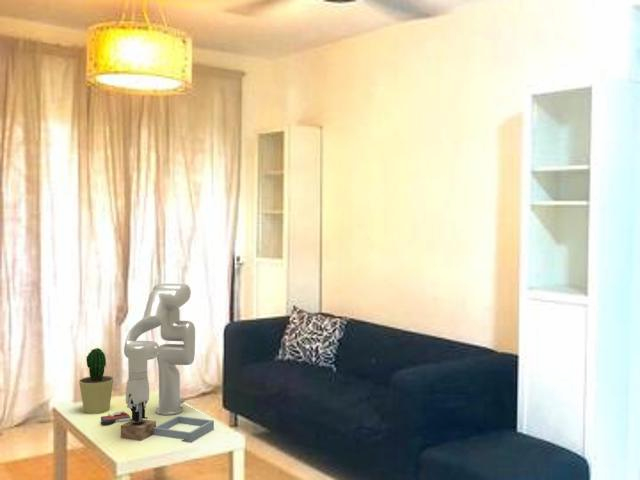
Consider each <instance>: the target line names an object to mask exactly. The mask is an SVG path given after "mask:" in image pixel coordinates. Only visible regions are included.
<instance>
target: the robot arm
mask: <svg viewBox="0 0 640 480" xmlns="http://www.w3.org/2000/svg"><path fill="white" fill-rule="evenodd" d="M152 288H153V289H152V291H151V292H150V293H149V296H148V300H147V303H146V307H145V311H144V313H143V317H142V319H140V320H139V321H138V322H136V324H134V325H133V326H132V327H131V329H130V330H129V331H128V333H127V336H126V339H125V342H124V346H123V354H124V355H125V357H126V358H127V361H128V362H127V364H128V365H127V366H128V370H127V371H128V375H127V376H128V379H127V382H126V387H125V388H126V389H125V404H126V408H128V409H130V411H131V419H132V421H139V411H138V404H139V403H141V400H143V399H144V402H142V419H143V420H145V419H144V418H145V417H146V409H147V404H148V402H149V401H150V383H149V378H148V377H149V376H148V360H154V359H155V358H156V361H157V367H158V368H157V369H158V407H157V408H156V409H155V413H156V414H158V415H162V416H172V415H178V414H180V413H183V411H184V407H183V406H182V405H181V404H183V403H185V399H184V398H181V397H180V396H181V394H180V392H181V388H180V385H181V384H180V383H181V380H180V377H181V376H180V374H181V373H180V371H179V369H178V368H177V366H188V365H189V366H190V365H192V364H193V363H194V360H195V356H196V350H195V349H196V328H195V324H194V323H193V322H192V321H189V320H180V319H181V318H180V316H181V315H180V308H181V307H182V306H184V305H185V304H186V303H187V302H188V301H189V300H190V297H191V295H192V294H191V288H190V286H189V284H186V283H158V284H155V285H154V286H153V287H152ZM159 327H160V338H161V340H163V341H167V342H183V344H182V343H180V344H179V343H164V344H161V345H159V344H158V342H156V341H154V340H153V341H151V340H137V339H138V338H140V336H141V335H143V334H144V333H146V332H149V331H152V330H154V329H157V328H159ZM135 406H136V407H135Z"/></svg>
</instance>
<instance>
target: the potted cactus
mask: <svg viewBox="0 0 640 480" xmlns="http://www.w3.org/2000/svg"><path fill="white" fill-rule="evenodd" d="M87 352H88V351H87ZM84 356H85V358H86V359H85V361H86V362H85V363H86V367H87V368H88V374H89V376H85V377H82V378H80V379H79V380H78V382H79V388H80V393H81V401H82V406H83V407H82V408H83V412H84V413H85V414H87V415H88V414H89V415H97V414H99V415H100V414H103V413H106V412H109V410H110V407H111V400H112V393H113V384H114V377H113V376H110V375H105V371H106V369H108V366H107V361H106V360H107V356H106V353H105V352H104V351H103V350H102V348H100V347H95V348H94V349H90V352H88V353H87V356H86V355H84ZM105 368H106V369H105Z"/></svg>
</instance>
